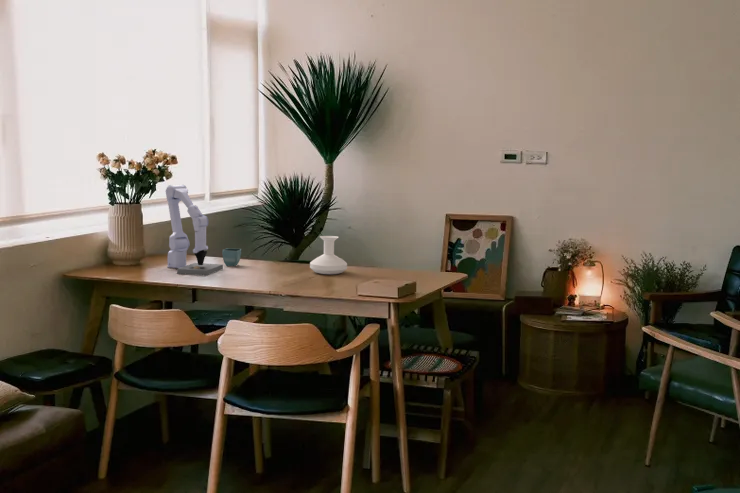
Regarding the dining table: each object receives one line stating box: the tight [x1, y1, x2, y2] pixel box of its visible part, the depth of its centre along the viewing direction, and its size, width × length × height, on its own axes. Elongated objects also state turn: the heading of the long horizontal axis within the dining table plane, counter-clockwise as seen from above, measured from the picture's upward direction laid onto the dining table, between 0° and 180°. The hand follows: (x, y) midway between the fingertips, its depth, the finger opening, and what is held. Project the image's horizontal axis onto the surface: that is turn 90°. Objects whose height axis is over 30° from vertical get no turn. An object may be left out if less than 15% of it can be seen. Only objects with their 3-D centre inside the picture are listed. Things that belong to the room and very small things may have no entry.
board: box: [176, 262, 224, 276], centre depth 425 cm, size 16×22×2 cm
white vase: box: [309, 235, 348, 275], centre depth 431 cm, size 20×20×19 cm
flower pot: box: [221, 247, 242, 267], centre depth 447 cm, size 9×9×9 cm
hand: (200, 264), depth 425 cm, fingers closed
